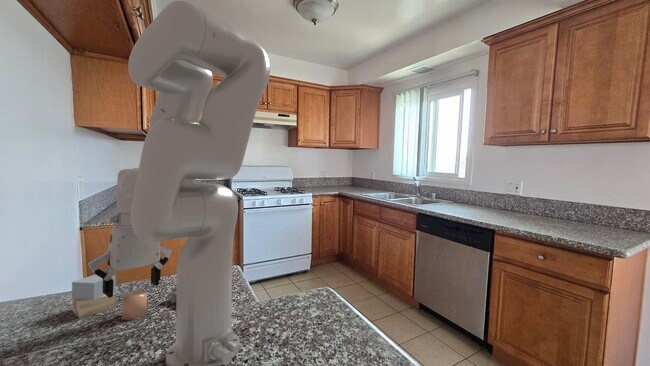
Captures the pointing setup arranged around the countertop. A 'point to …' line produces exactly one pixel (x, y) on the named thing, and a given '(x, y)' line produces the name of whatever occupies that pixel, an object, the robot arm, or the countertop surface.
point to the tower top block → (89, 288)
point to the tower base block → (92, 305)
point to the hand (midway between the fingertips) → (133, 289)
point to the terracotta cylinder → (134, 305)
